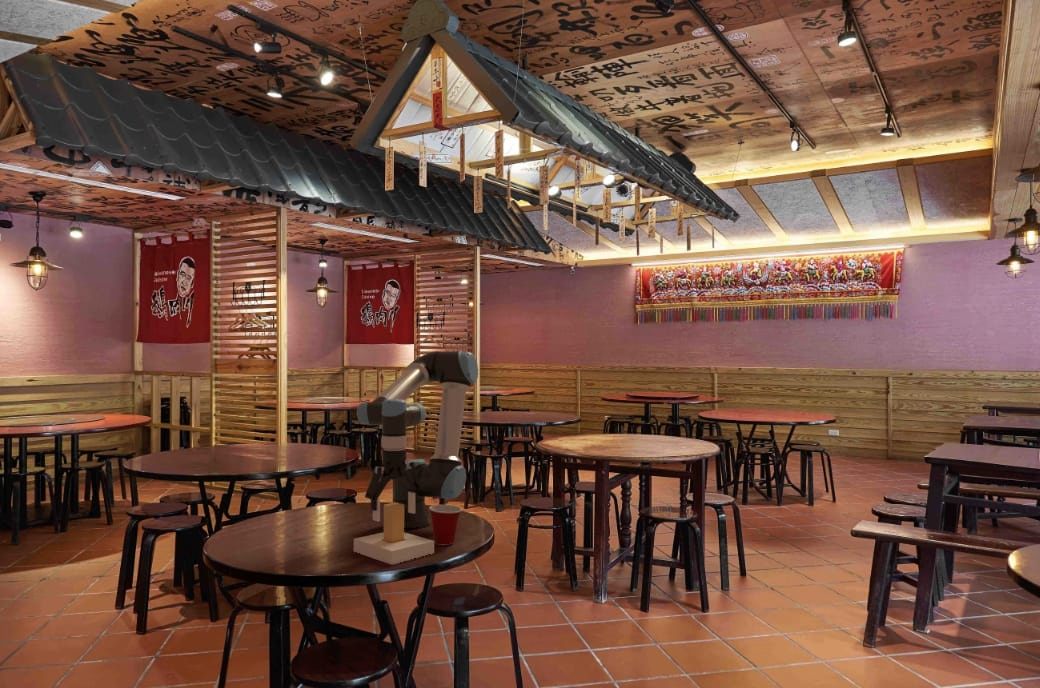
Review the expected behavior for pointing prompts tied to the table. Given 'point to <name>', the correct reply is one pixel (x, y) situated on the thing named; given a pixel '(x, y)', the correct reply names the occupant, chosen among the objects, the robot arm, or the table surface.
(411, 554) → the socket plate
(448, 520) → the plastic cup
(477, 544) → the table surface
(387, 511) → the plug block
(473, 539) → the table surface
